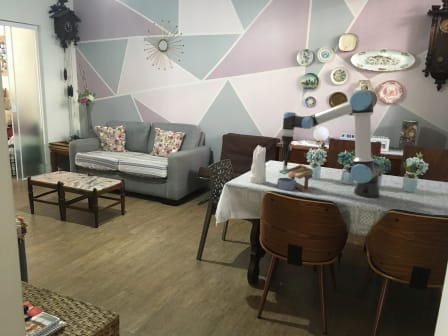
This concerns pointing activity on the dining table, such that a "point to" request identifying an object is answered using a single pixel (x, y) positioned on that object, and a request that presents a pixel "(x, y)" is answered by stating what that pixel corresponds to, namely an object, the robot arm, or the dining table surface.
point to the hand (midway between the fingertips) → (284, 169)
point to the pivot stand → (301, 187)
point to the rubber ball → (291, 174)
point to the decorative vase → (258, 166)
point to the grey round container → (286, 183)
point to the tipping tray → (299, 171)
